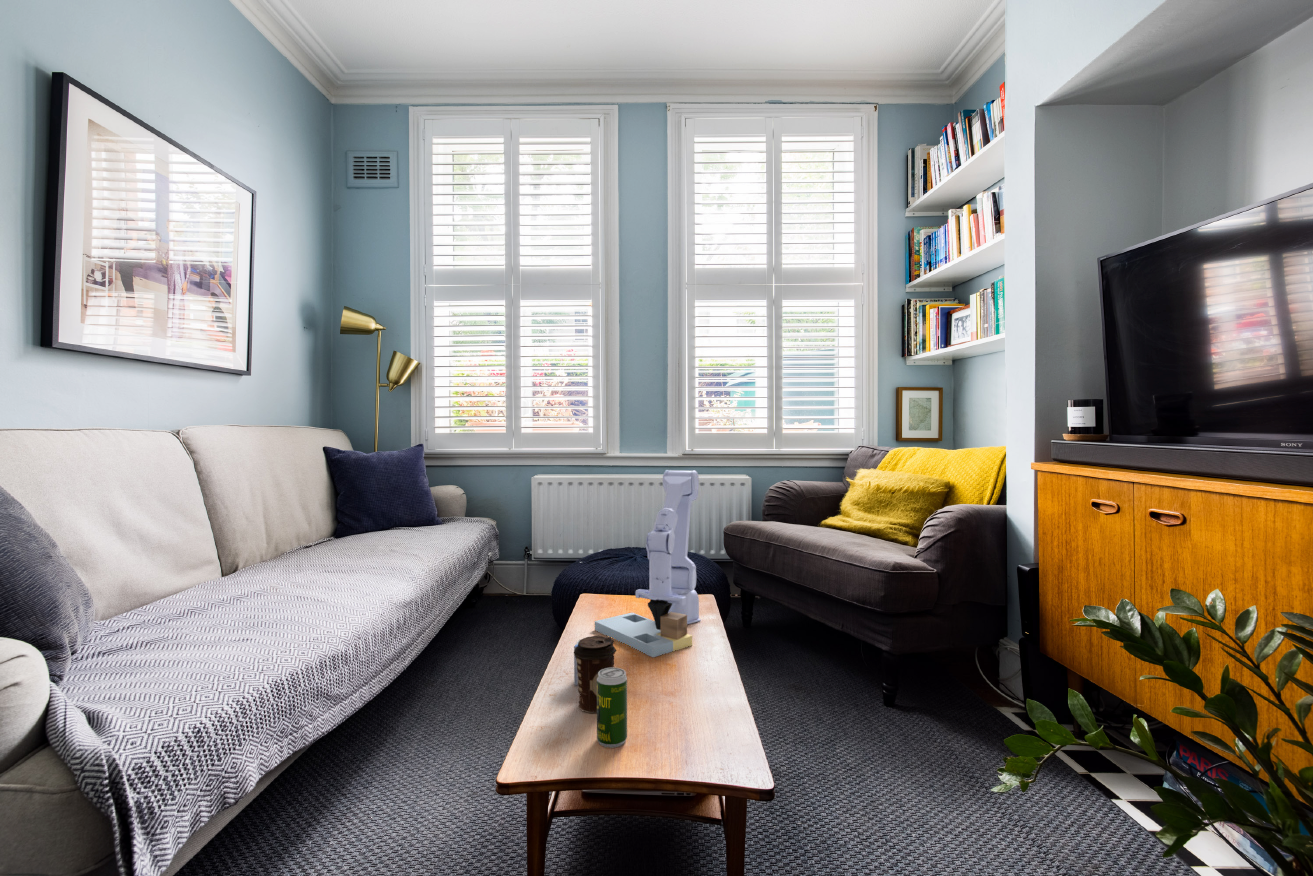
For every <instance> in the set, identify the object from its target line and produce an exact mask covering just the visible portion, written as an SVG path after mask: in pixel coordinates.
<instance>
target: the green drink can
mask: <svg viewBox="0 0 1313 876" xmlns="http://www.w3.org/2000/svg"><path fill="white" fill-rule="evenodd" d="M626 672H627V671H626V670H625V669H623V668H621V667H614V668H605V669H602V670H600V671H599V672H598V677H597V712H596V739H597V742H598V744H599V745H600V746H601V745H602V746H601V747H603V746H604V748H607V747H609V748H608V749H612V748H613V749H614V747H615V748H619V747H621V746H623V745H624V744H625V743H626V740H627V739H628V677H627V673H626Z"/></svg>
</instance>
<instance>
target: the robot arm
mask: <svg viewBox="0 0 1313 876" xmlns="http://www.w3.org/2000/svg"><path fill="white" fill-rule="evenodd" d="M699 485H700V480H699V474H698V471H697V470H694V469H693V470H669V469H666V470H665V471H664V472H663V475H662V487H663V489H664V493H665V496H664V502H663V508H662V509H660V510H659V511H658V512H657V514H656V518H655V520H654V524H653V528H652V530H651V531H650V532H648V533H647V535H646V539H645V549H646V552H647V559H648V561H649V564H648V565H649V567H648V568H649V570H648V571H649V574H648V575H649V579H648V580H649V582H648V583H649V589H642V588H639V589H636V590H635V598H636V599H640V598H641V599H647V600H650V601H649V602H648V603H647V607H648V608H649V610H650V612H651V614H652V617H653V621H655V625H656V629H658V630H660V626H661V616H663V615H665V614H667V613H669V612H674V613H680V614H685V615H687V625H690V624H694V623H697V622H701V621H702V619H701V618H700V614H699V613H700V608H699V607H700V606H699V605H700V603H699V602H700V599H699V594H698V593H697V591H696V590H695V588H696V586H697V566H696V564H695V562H693V561H692V560H691V559H690V558H689V557H688V551H689V539H690V536H689V535H690V524H691V522H690V521H691V511H692V509H691V508H692V504H693V502H694V501H697V500H698V495H699V488H700V487H699Z"/></svg>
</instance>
